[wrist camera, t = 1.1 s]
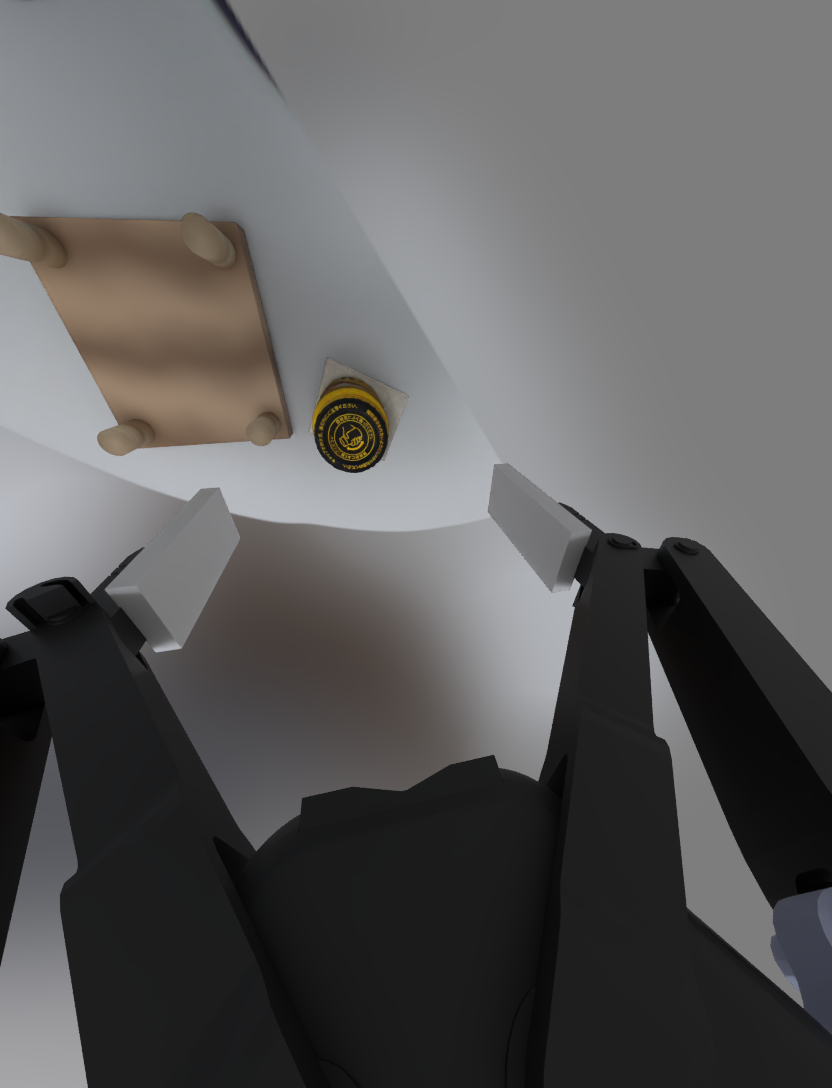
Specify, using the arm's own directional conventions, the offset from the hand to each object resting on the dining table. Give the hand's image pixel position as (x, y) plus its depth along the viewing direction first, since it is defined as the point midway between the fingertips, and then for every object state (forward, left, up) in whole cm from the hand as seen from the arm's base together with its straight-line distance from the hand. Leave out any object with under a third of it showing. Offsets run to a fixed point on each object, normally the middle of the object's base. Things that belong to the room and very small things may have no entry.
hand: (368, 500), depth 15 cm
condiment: (0, 0, -21) cm, 21 cm away
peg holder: (-6, -14, -21) cm, 25 cm away
